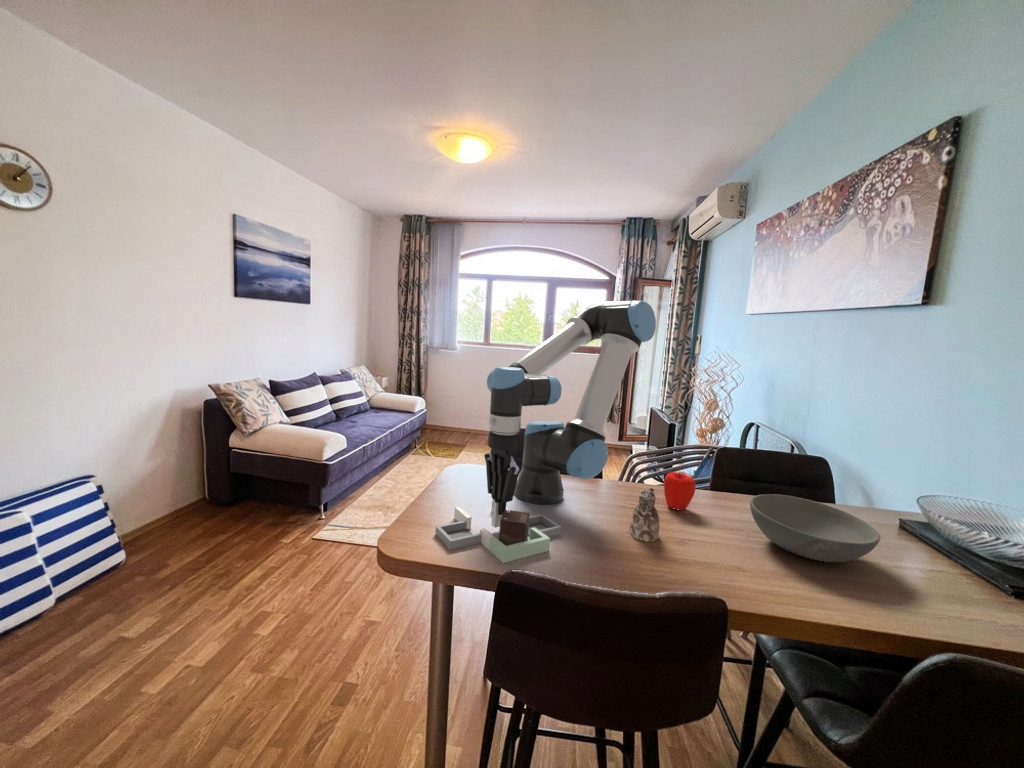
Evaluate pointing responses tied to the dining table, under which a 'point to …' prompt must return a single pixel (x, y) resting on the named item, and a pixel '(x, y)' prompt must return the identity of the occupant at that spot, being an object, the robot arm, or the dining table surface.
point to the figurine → (645, 517)
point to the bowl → (812, 528)
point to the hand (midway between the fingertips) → (497, 525)
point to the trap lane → (461, 537)
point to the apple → (678, 490)
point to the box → (513, 527)
